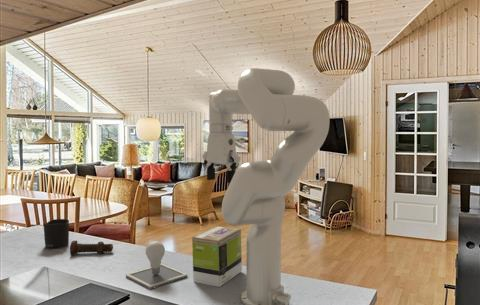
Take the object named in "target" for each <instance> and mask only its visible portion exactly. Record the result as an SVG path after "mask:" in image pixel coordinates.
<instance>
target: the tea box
mask: <svg viewBox="0 0 480 305" xmlns="http://www.w3.org/2000/svg"><path fill="white" fill-rule="evenodd" d="M191 239H192V245H191V246H192V277H193V278H192V280H193V282H194V283H198V284H201V283H202V284H203V285H208V286H210V287H211V286H213V287H218V288H220V287H222V286H223V285H224V284H226V283H227V282H228V281H230V280H231V279H233V278H234V277H235V276H237V275H238V274H240V273H241V272H243V262H242V230H241V228H233V227H225V226H224V227H223V226H217V225H216V226H214V227H212V228H209V229H207V230H206V231H203V232H200V233H198V234H196V235H194V236H192V238H191ZM202 284H201V285H202Z"/></svg>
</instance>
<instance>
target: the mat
mask: <svg viewBox="0 0 480 305" xmlns="http://www.w3.org/2000/svg"><path fill="white" fill-rule="evenodd" d="M184 277H186V278H188V273H185V272H183V271H180V270H178V269H176V268H174V267H171V266H168V265H166V264H164V263H161V266H160V273H159V274H158V275H154V274H152V269H151V266H150V267H148V268H143V269H140V270H137V271H133V272H130V273H126V274H125V278H127V279H128V280H130V281H133V282H135V283H136V284H138V285H140V286H142V287H144V288H146V287H147V288H146V289H148V290H152V288H153V289H155V288H154V287H156V288H158V287H157V286H159V287H161V286H160V285H162V286H164V285H163V284H165V285H167V284H166V283H168V284H170V283H169V282H171V283H173V282H172V281H174V282H176V281H175V280H177V281H179V280H178V279H180V280H182V279H181V278H183V279H185V278H184Z"/></svg>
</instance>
